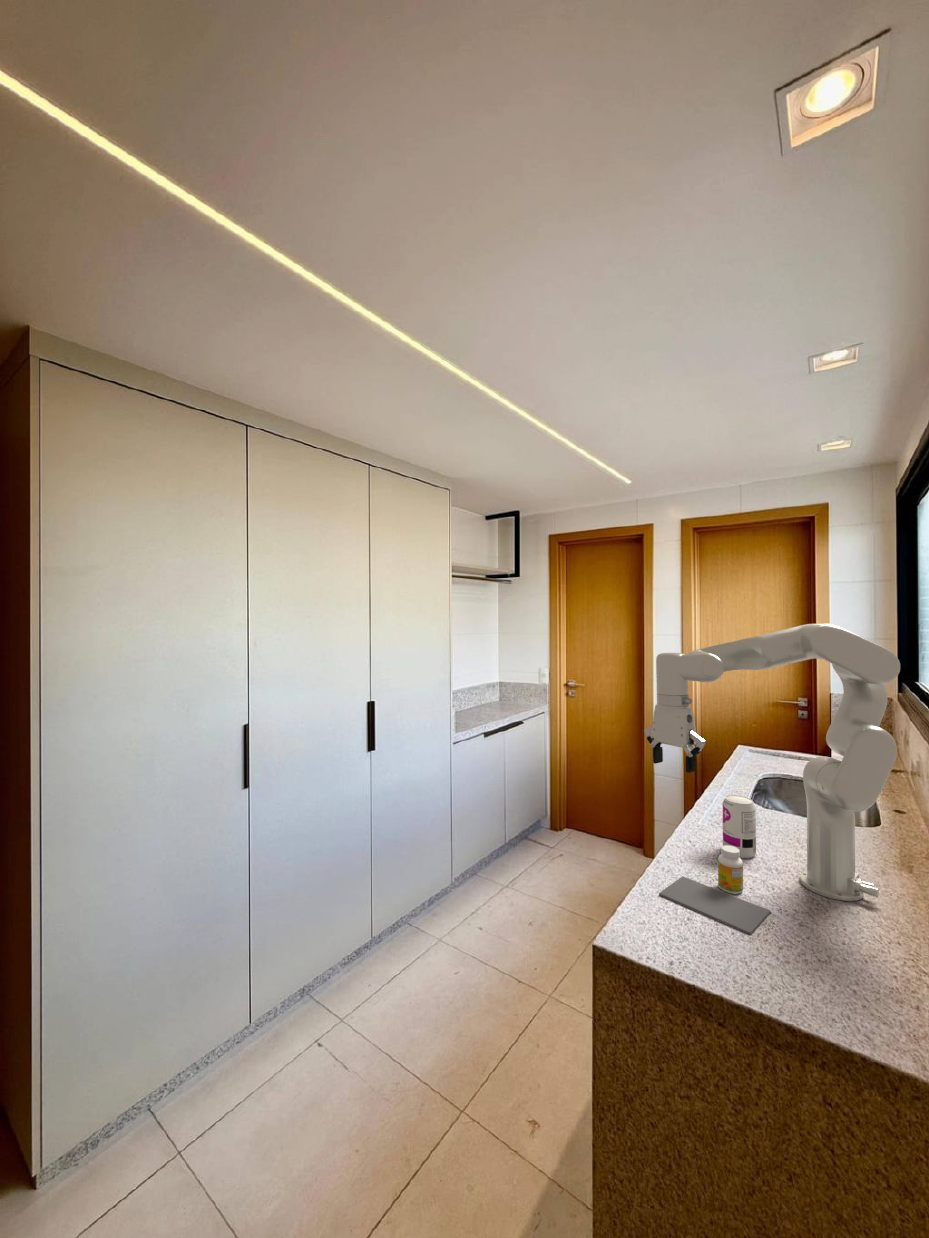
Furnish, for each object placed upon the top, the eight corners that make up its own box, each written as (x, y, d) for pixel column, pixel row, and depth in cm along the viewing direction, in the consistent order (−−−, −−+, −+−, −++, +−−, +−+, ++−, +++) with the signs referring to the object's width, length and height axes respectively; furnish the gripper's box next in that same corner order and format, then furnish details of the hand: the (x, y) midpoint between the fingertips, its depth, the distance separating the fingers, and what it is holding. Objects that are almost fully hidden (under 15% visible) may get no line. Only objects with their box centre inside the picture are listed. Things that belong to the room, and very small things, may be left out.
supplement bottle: (713, 883, 124) (713, 844, 124) (734, 882, 124) (733, 843, 124) (726, 895, 118) (726, 854, 118) (748, 894, 119) (748, 853, 119)
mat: (770, 912, 111) (770, 910, 111) (750, 935, 103) (750, 932, 103) (682, 878, 126) (682, 876, 126) (659, 895, 118) (659, 892, 118)
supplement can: (724, 856, 138) (724, 802, 138) (721, 844, 145) (721, 792, 145) (758, 861, 135) (758, 806, 135) (753, 848, 142) (753, 796, 142)
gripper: (712, 703, 122) (714, 772, 122) (653, 695, 137) (655, 757, 137) (693, 706, 119) (695, 778, 118) (635, 698, 133) (636, 761, 133)
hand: (673, 766), depth 128 cm, fingers open, 9 cm apart
